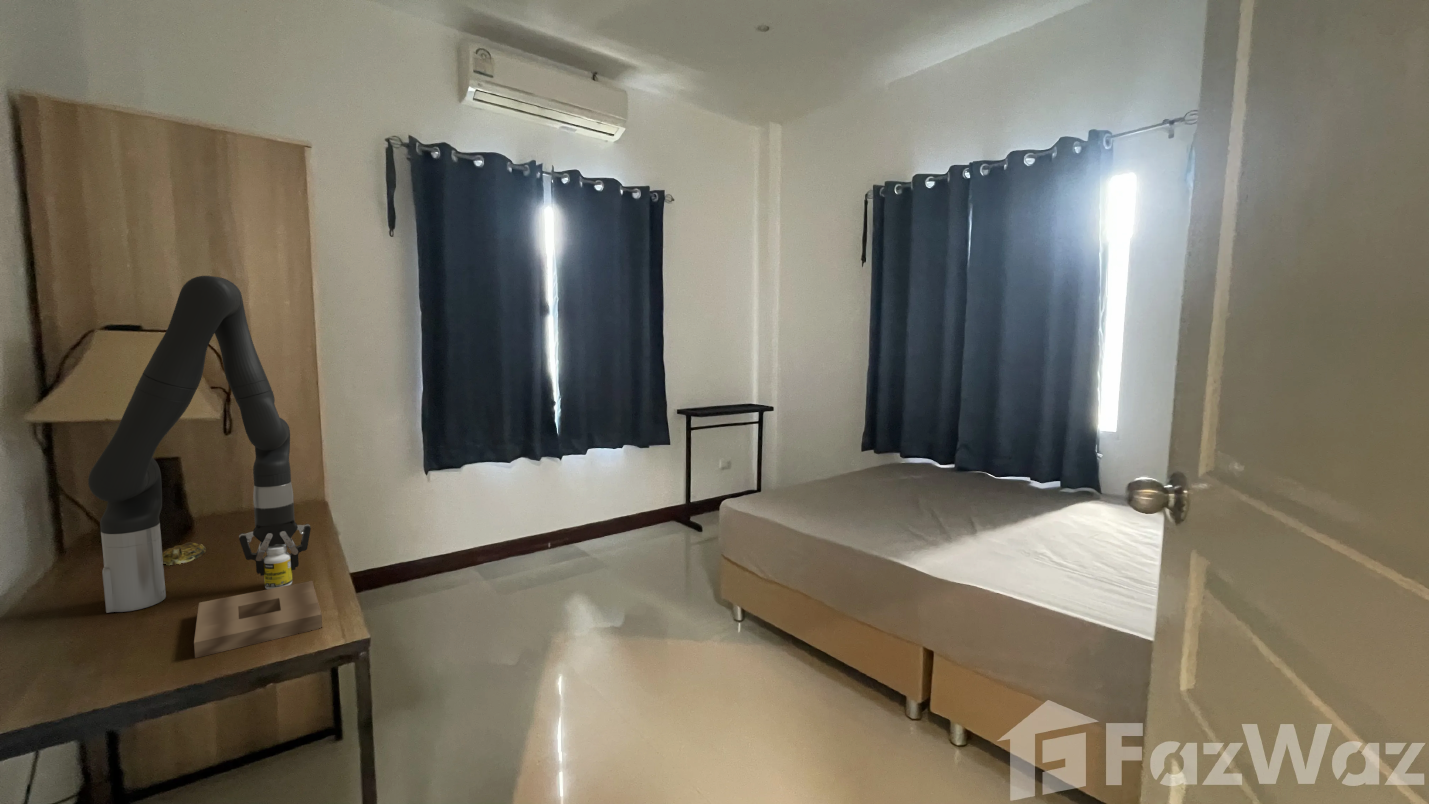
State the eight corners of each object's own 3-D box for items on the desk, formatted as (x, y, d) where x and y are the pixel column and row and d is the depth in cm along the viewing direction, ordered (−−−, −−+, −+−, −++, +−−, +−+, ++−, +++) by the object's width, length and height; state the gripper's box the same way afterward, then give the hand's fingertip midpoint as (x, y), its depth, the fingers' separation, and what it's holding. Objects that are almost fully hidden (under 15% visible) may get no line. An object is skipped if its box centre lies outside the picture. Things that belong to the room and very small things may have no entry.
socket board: (195, 658, 113) (193, 642, 113) (200, 616, 128) (198, 602, 128) (322, 627, 125) (321, 614, 125) (312, 593, 141) (312, 580, 140)
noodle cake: (166, 554, 164) (153, 573, 152) (162, 537, 163) (149, 555, 151) (210, 544, 169) (201, 562, 157) (206, 528, 168) (197, 545, 156)
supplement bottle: (260, 591, 141) (258, 551, 139) (269, 582, 146) (267, 542, 145) (288, 589, 142) (285, 548, 141) (295, 579, 148) (293, 540, 146)
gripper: (234, 511, 134) (239, 584, 136) (312, 501, 143) (315, 570, 145) (234, 503, 140) (239, 573, 142) (309, 494, 149) (312, 560, 151)
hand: (278, 571), depth 144 cm, fingers closed on supplement bottle, 5 cm apart
